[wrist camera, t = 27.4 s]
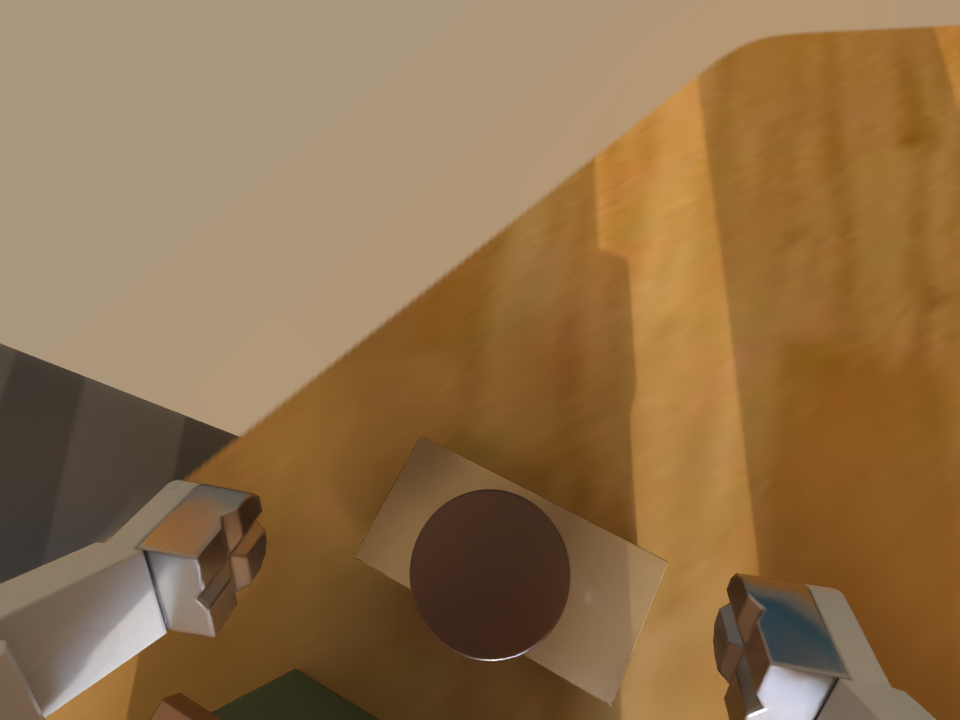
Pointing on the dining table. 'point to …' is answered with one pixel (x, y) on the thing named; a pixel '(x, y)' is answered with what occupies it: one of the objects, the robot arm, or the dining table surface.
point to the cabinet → (269, 704)
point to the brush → (512, 571)
